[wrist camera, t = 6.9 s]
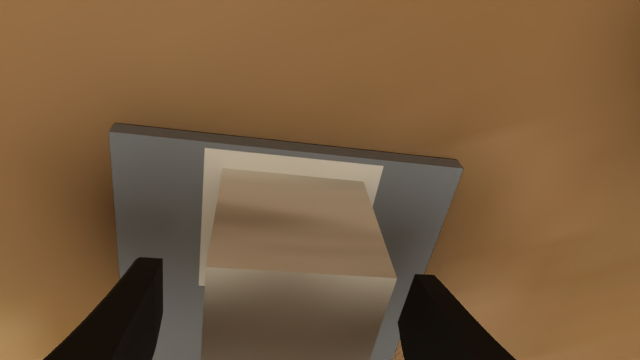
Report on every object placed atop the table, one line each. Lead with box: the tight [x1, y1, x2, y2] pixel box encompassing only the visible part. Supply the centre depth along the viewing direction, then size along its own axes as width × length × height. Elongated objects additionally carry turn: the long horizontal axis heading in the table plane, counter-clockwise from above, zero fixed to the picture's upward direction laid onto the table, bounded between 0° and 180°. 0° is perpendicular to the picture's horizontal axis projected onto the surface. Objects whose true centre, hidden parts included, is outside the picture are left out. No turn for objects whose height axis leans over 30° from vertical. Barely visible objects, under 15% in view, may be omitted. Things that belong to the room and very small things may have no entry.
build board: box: [109, 123, 463, 360], centre depth 19 cm, size 19×11×1 cm, turn 170°
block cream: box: [201, 168, 397, 360], centre depth 14 cm, size 4×4×4 cm
